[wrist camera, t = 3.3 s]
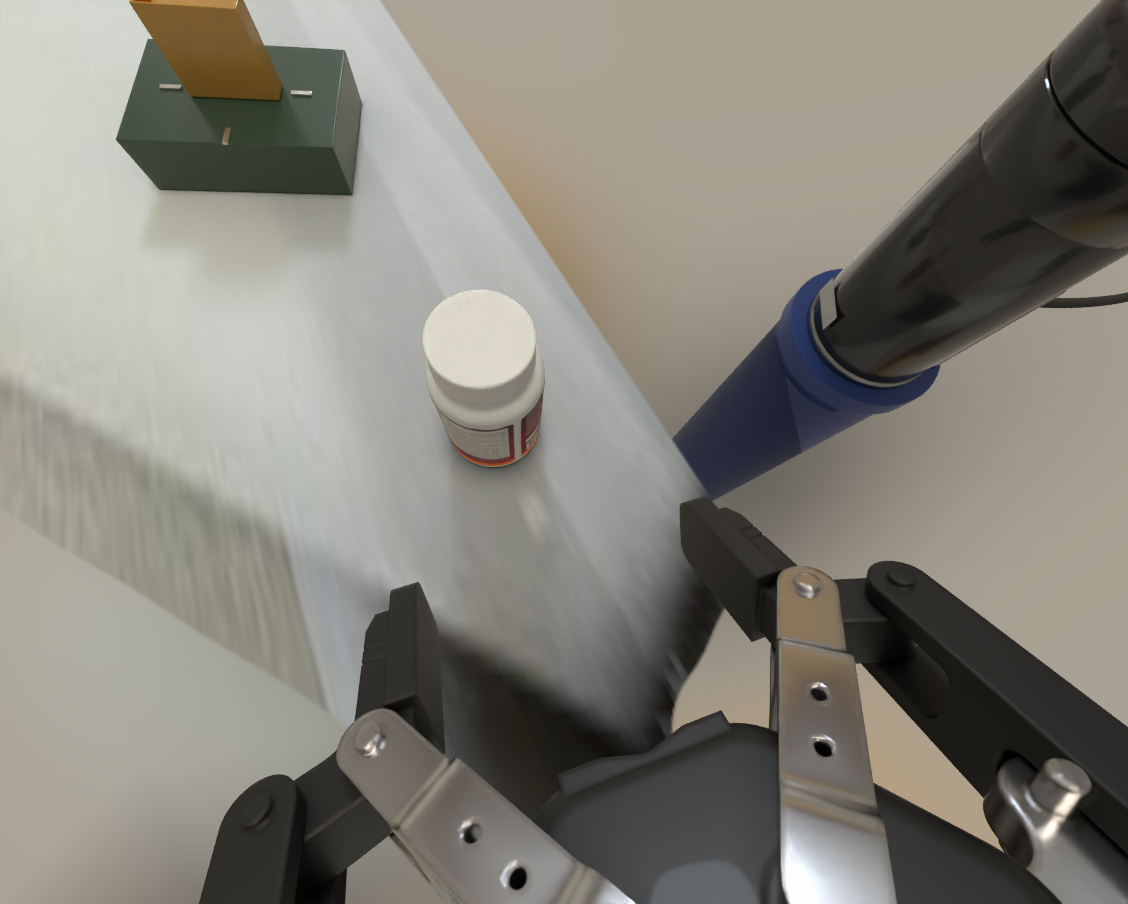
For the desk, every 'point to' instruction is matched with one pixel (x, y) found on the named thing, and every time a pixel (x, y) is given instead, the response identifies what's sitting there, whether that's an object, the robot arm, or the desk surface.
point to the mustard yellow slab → (211, 47)
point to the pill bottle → (485, 375)
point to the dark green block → (247, 128)
